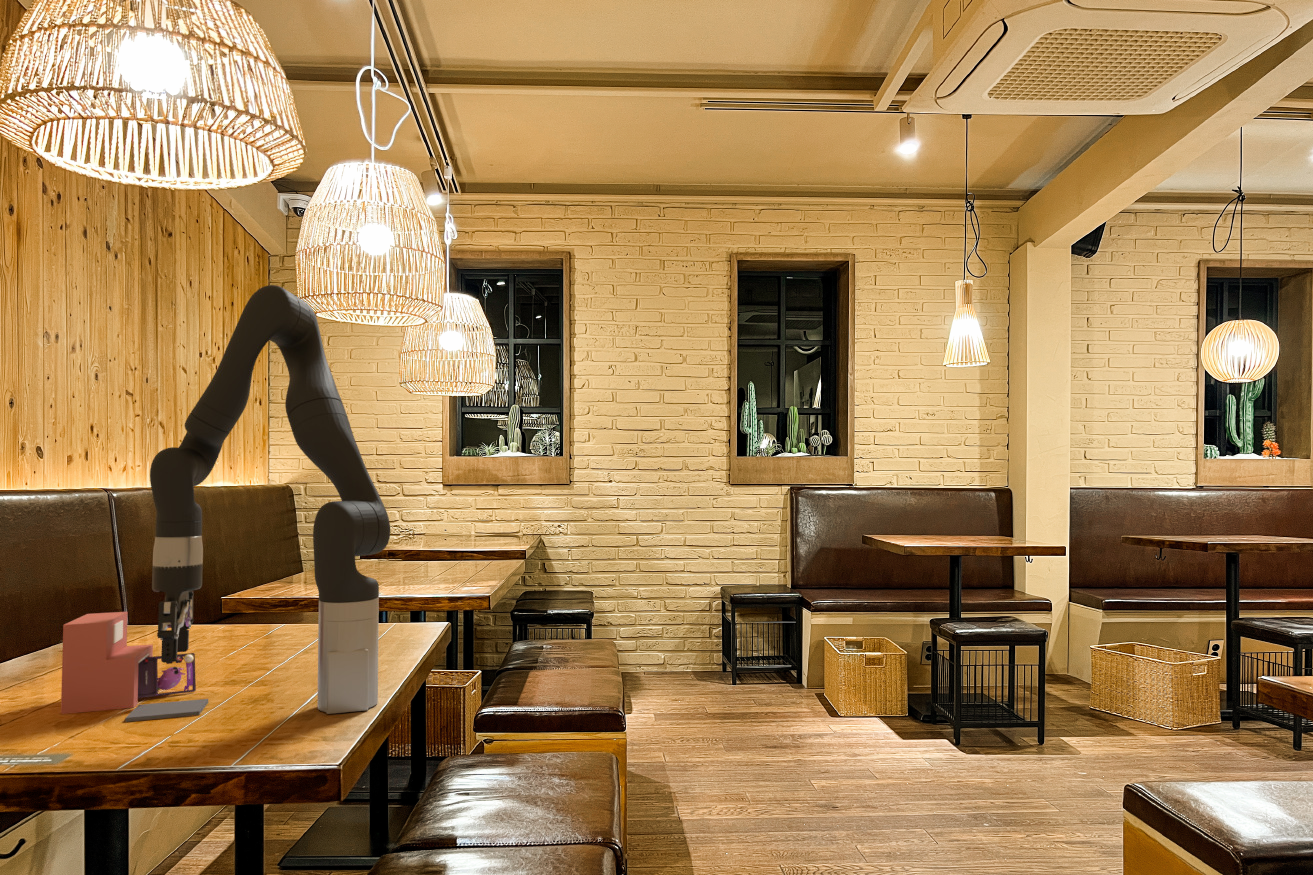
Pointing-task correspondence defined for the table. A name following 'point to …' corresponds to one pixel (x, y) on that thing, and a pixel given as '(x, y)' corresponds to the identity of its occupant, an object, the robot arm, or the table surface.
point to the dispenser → (99, 664)
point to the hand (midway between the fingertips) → (175, 656)
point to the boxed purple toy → (164, 676)
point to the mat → (167, 710)
